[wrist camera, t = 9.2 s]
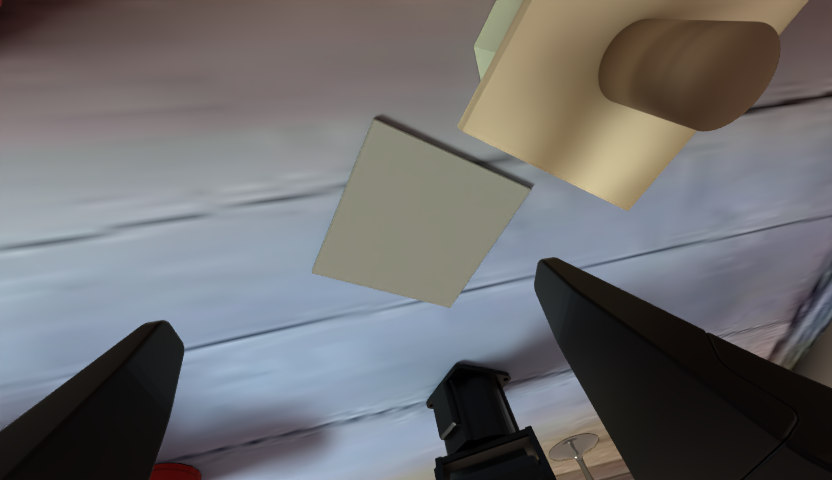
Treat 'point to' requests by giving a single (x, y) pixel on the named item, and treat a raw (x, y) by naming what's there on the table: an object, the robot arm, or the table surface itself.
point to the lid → (623, 84)
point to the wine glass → (575, 450)
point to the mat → (415, 218)
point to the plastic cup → (174, 472)
